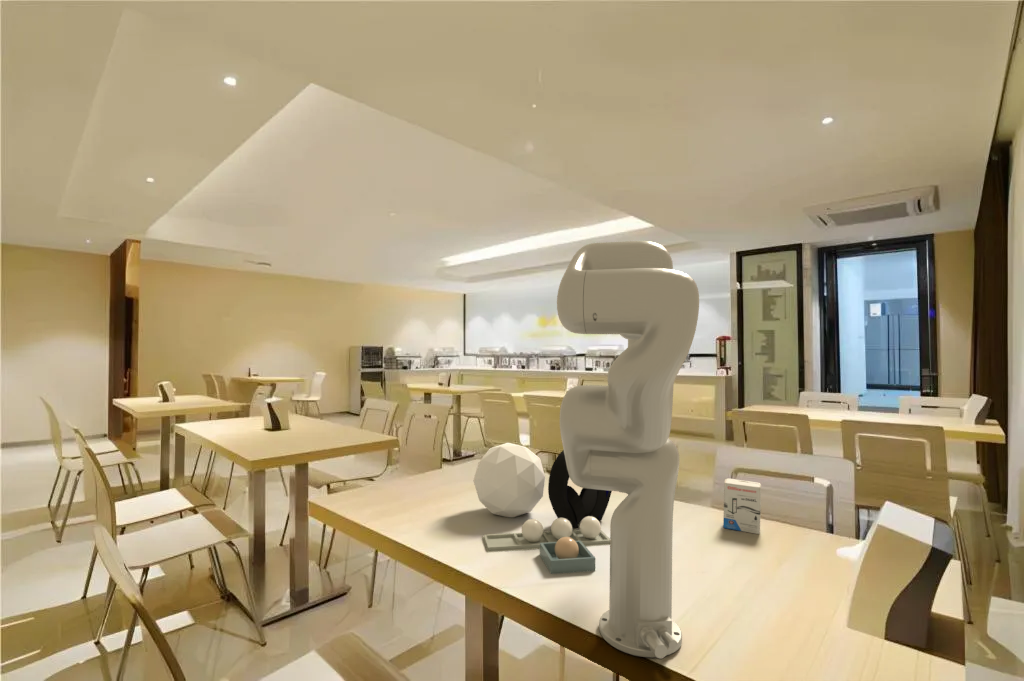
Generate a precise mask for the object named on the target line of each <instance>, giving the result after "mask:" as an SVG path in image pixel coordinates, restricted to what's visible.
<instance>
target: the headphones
mask: <svg viewBox="0 0 1024 681" xmlns="http://www.w3.org/2000/svg"><path fill="white" fill-rule="evenodd" d="M569 480H570V476H569V474H568V470H567V465H566V460H565V455H564V449H563V450H562V451H561V452H560V453H559V454H558V455H557V457H556V459H555V460H554V461H553V464H552V466H551V469H550V474H549V477H548V486H547V487H548V488H547V493H548V499H549V502H550V504H551V507H552V510H553V512H554V514H555V516H556V517H557V518H566V519H567V520H569V521H570V523H571V525H572V529H579V525H580V522H581V520H582V519H583V518H585V517H587V516H592V517H595V518H596V519H597V520H598V521H599V522H601V521H602V520H603V518H604V515H605V513H606V510H607V508H608V506H609V503H610V498H611V495H612V492H613V491H607V490H597V489H588V488H582V487H581V490H580V493H578V492H577V491H576V490H575V488H573V487H572V486H571V485H568V484H569ZM557 518H556V519H557Z"/></svg>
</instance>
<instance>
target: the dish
mask: <svg viewBox="0 0 1024 681" xmlns="http://www.w3.org/2000/svg"><path fill="white" fill-rule="evenodd" d="M576 543H577V544H578V547H579V553H578V556H577V558H568V559H558V558H557V556H556V554H555V545H556V542H546V543H540V549H539V556H540V558H541V560H542V562H543V563H544V564H545V567H546V568H547V569H548V572H549V574H550V575H553V574H554V575H555V574H556V575H557V574H568V573H569V574H570V573H582V572H583V573H584V572H595V571H596V557H595V556H594V554H592V552H591V551H590V550H589V548H587V546H585V545H584V544H583V543H582V542H581V541H576Z"/></svg>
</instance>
